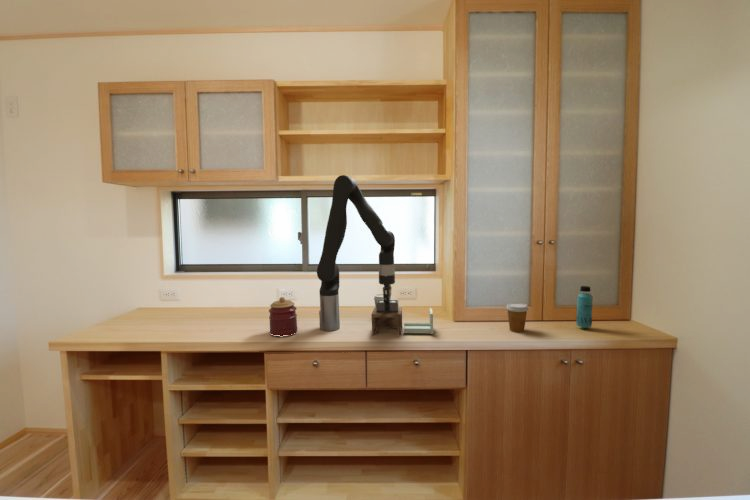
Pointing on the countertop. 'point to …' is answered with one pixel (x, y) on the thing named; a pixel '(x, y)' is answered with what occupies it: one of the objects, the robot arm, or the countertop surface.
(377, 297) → the coffee cup
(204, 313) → the countertop surface
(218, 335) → the countertop surface
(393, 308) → the grey open box
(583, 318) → the beverage bottle
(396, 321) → the small wooden cabinet
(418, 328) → the pullout shelf
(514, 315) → the disposable coffee cup
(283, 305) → the canister
